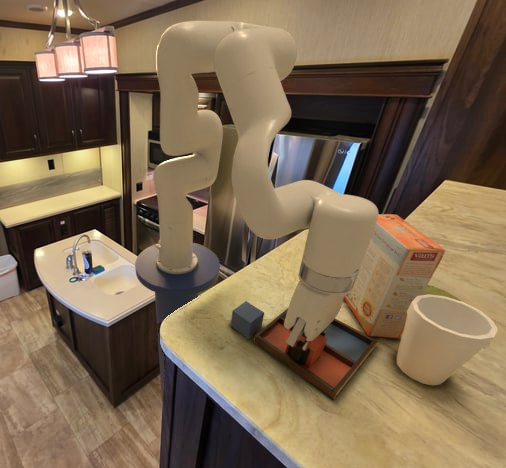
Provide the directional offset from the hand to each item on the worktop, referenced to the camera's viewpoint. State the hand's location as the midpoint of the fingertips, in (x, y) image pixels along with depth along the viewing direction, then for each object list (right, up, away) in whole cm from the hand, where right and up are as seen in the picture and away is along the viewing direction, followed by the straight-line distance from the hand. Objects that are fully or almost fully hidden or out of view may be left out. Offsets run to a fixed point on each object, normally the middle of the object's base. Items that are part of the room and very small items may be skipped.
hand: (304, 350), depth 54 cm
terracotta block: (0, -1, 0) cm, 1 cm away
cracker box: (+19, +5, +9) cm, 21 cm away
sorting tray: (+3, 0, +3) cm, 4 cm away
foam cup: (+19, -2, -3) cm, 19 cm away
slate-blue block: (-8, +2, +8) cm, 11 cm away
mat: (+33, +6, +10) cm, 34 cm away
